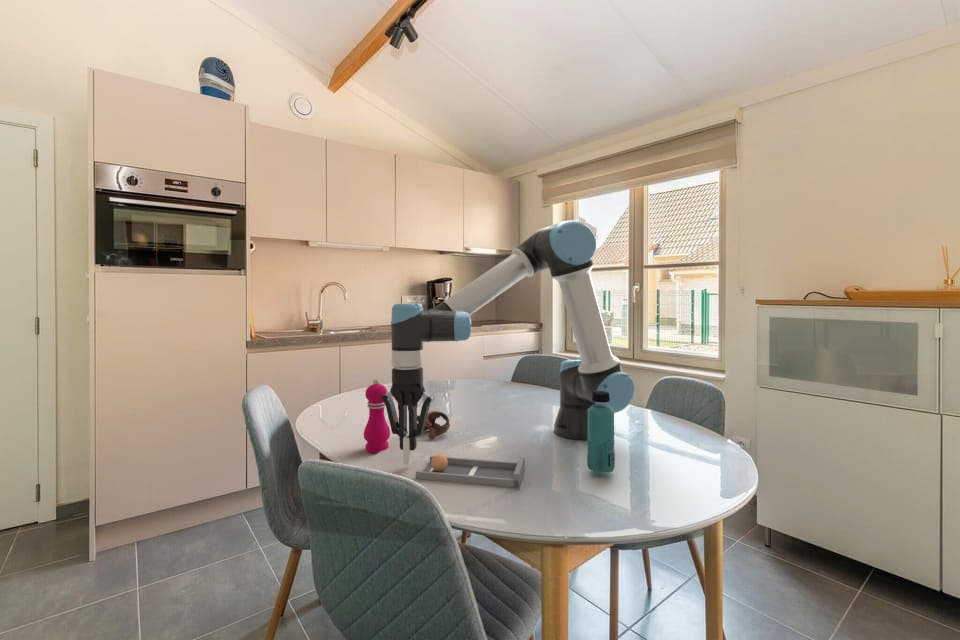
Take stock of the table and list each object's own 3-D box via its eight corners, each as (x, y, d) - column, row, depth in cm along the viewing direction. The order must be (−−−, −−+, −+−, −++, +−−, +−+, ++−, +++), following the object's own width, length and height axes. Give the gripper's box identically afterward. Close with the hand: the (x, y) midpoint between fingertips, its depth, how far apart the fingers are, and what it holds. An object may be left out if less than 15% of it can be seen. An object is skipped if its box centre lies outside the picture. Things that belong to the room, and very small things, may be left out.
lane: (524, 471, 110) (524, 456, 109) (518, 490, 99) (519, 474, 99) (430, 463, 115) (430, 449, 114) (415, 480, 104) (415, 465, 104)
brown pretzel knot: (447, 430, 145) (453, 411, 141) (443, 452, 137) (449, 433, 133) (411, 421, 144) (416, 402, 140) (405, 443, 136) (409, 423, 132)
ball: (449, 468, 110) (449, 452, 110) (444, 474, 106) (444, 458, 106) (434, 467, 111) (433, 451, 110) (428, 473, 107) (428, 456, 107)
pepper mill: (367, 455, 120) (366, 382, 119) (361, 447, 127) (360, 377, 126) (393, 451, 124) (392, 379, 123) (386, 444, 130) (385, 375, 129)
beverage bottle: (610, 482, 103) (611, 395, 102) (582, 475, 107) (583, 392, 106) (617, 472, 109) (619, 390, 108) (591, 467, 112) (592, 387, 111)
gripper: (437, 365, 111) (438, 459, 112) (388, 363, 114) (389, 455, 115) (428, 370, 104) (428, 470, 105) (375, 368, 106) (376, 466, 108)
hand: (408, 462), depth 110 cm, fingers closed
